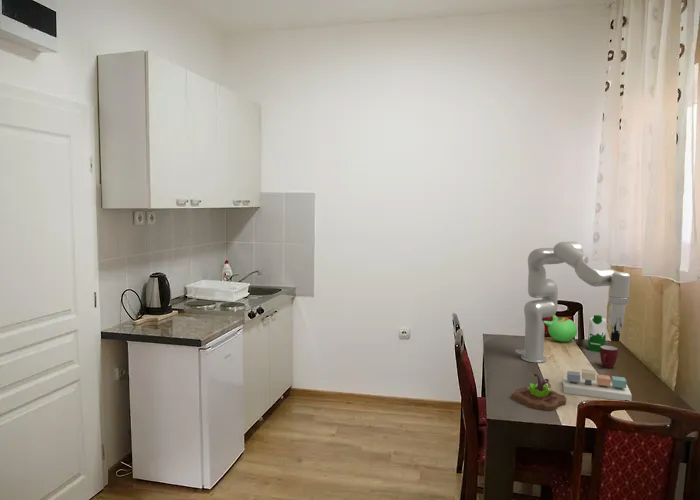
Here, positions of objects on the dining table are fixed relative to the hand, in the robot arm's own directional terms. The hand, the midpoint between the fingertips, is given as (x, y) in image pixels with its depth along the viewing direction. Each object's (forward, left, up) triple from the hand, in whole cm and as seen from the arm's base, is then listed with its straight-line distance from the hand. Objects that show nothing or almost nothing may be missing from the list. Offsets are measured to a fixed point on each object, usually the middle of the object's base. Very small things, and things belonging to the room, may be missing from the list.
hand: (614, 340), depth 220 cm
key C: (-4, -6, -21) cm, 22 cm away
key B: (-10, -6, -19) cm, 22 cm away
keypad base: (-7, -6, -22) cm, 24 cm away
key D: (+2, -6, -21) cm, 22 cm away
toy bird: (-18, +77, -22) cm, 82 cm away
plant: (-31, -25, -23) cm, 46 cm away
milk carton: (0, +64, -22) cm, 68 cm away
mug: (+2, +32, -22) cm, 39 cm away
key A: (-16, -6, -21) cm, 27 cm away
